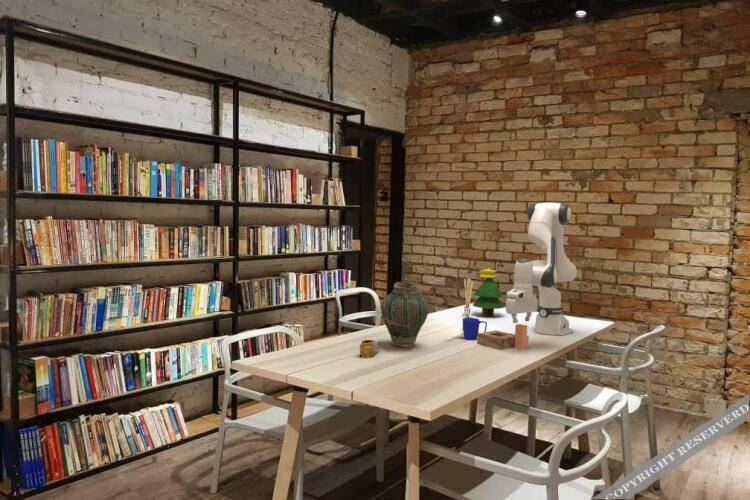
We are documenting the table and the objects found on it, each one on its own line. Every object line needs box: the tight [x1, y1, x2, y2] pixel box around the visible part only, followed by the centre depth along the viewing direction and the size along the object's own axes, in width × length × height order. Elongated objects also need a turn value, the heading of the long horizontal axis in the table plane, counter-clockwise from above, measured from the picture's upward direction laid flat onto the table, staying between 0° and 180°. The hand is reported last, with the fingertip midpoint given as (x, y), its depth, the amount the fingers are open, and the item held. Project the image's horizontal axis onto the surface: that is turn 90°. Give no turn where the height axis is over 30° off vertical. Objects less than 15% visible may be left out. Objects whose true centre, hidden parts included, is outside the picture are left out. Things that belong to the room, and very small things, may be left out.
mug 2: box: [462, 317, 488, 341], centre depth 285 cm, size 8×12×10 cm
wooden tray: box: [476, 330, 515, 351], centre depth 274 cm, size 14×14×5 cm
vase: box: [380, 281, 430, 349], centre depth 266 cm, size 22×22×30 cm
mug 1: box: [359, 339, 383, 359], centre depth 248 cm, size 12×7×7 cm, turn 132°
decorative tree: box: [472, 267, 505, 318], centre depth 350 cm, size 19×19×30 cm
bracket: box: [514, 323, 530, 350], centre depth 269 cm, size 4×4×11 cm
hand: (521, 322), depth 268 cm, fingers open, 8 cm apart
